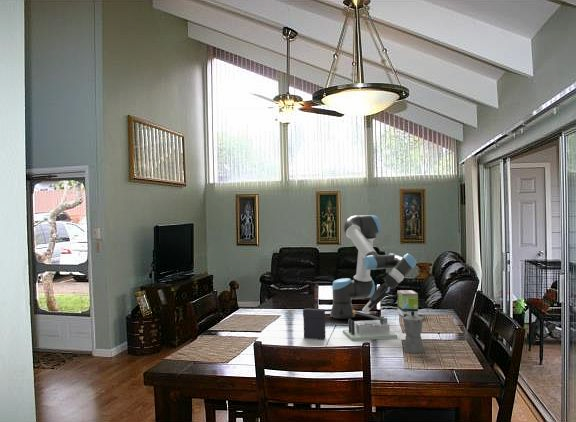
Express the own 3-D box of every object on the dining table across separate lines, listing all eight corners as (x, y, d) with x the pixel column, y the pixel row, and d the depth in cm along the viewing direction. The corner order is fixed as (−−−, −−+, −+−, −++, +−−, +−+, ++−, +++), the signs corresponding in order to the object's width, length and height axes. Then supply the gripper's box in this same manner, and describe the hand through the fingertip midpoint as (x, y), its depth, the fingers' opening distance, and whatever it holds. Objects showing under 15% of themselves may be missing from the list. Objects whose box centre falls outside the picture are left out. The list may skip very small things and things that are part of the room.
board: (385, 330, 268) (385, 327, 268) (397, 338, 250) (397, 335, 250) (342, 332, 264) (342, 329, 264) (351, 340, 246) (351, 337, 246)
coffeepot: (430, 353, 220) (429, 313, 221) (411, 355, 218) (409, 314, 218) (413, 345, 235) (412, 307, 236) (395, 346, 233) (394, 308, 233)
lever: (383, 321, 260) (384, 318, 260) (385, 322, 257) (386, 319, 257) (351, 312, 257) (352, 309, 257) (353, 313, 254) (354, 310, 254)
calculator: (326, 338, 253) (325, 309, 253) (323, 340, 249) (322, 310, 249) (306, 336, 257) (305, 307, 258) (303, 338, 253) (302, 309, 254)
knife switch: (381, 328, 264) (381, 315, 264) (389, 334, 252) (389, 319, 252) (347, 330, 261) (346, 316, 261) (353, 336, 249) (353, 321, 250)
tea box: (418, 317, 301) (418, 293, 301) (402, 317, 301) (401, 293, 301) (412, 312, 316) (412, 289, 316) (397, 312, 316) (396, 289, 316)
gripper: (403, 285, 253) (373, 319, 250) (393, 282, 266) (365, 314, 263) (393, 275, 253) (362, 309, 250) (384, 272, 266) (355, 305, 263)
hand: (364, 311), depth 256 cm, fingers closed
